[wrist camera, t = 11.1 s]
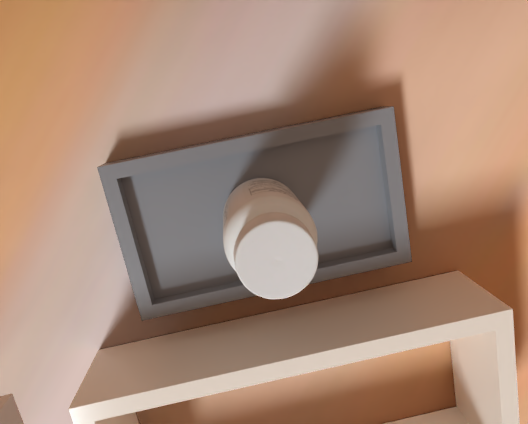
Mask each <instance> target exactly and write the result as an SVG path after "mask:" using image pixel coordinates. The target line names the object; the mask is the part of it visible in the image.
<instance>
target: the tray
mask: <svg viewBox="0 0 528 424" xmlns="http://www.w3.org/2000/svg"><path fill="white" fill-rule="evenodd" d="M97 168H98V172H99V175H100V179H101V182H102V185H103V189H104V192H105V196H106V199H107V203H108V206H109V209H110V213H111V216H112V220H113V223H114V227H115V230H116V233H117V237H118V240H119V244H120V247H121V251H122V254H123V258H124V261H125V264H126V268H127V271H128V275H129V278H130V282H131V285H132V288H133V292H134V295H135V299H136V302H137V306H138V309H139V312H140V316H141V319H142V321H143V320H148V319H152V318H157V317H161V316H166V315H170V314H175V313H180V312H184V311H189V310H193V309H198V308H202V307H207V306H211V305H216V304H221V303H225V302H230V301H234V300H239V299H243V298H248V297H253V296H257V295H255V294H253V293H252V292H251V291H249V290H248V289H247V288H246V287H245V286H244V285H243V283H242V282H241V281H240V279H239V277H238V275H237V272H236V271H235V270H234V269H233V268H232V266H231V265H230V263H229V261H228V259H227V257H226V254H225V250H224V244H223V211H224V206H225V203H226V201H227V199H228V197H229V195H230V194H231V193H232V191H233V190H234V189H235V188H236V187H238V186H239V185H240V184H242V183H244V182H246V181H248V180H251V179H255V178H269V179H273V180H276V181H279V182H281V183H282V184H284V185H285V186H287V187H288V188H289V189H290V190H291V191H292V192H293V193H294V194H295V196H296V197H297V198H298V200H299V201H300V202H301V203H302V204H303V206H304V207H305V208H306V210H307V211H308V212H309V214H310V215H311V217H312V219H313V221H314V223H315V226H316V229H317V239H318V241H317V249H318V267H317V270H316V273H315V275H314V277H313V279H312V280H311V282H310V283H309V284H312V283H317V282H321V281H326V280H330V279H335V278H339V277H344V276H349V275H353V274H358V273H362V272H367V271H371V270H376V269H380V268H385V267H390V266H394V265H399V264H403V263H408V262H412V258H411V249H410V241H409V233H408V224H407V216H406V207H405V199H404V190H403V182H402V173H401V165H400V156H399V148H398V139H397V131H396V122H395V114H394V107H385V106H383V107H378V108H373V109H368V110H364V111H359V112H354V113H349V114H344V115H339V116H334V117H329V118H324V119H320V120H315V121H310V122H305V123H300V124H295V125H290V126H285V127H280V128H275V129H271V130H266V131H261V132H256V133H251V134H246V135H241V136H236V137H231V138H227V139H222V140H217V141H212V142H207V143H202V144H197V145H192V146H187V147H183V148H178V149H173V150H168V151H163V152H158V153H153V154H148V155H143V156H138V157H134V158H129V159H124V160H119V161H114V162H109V163H105V164H103V165H101V166H99V167H97Z"/></svg>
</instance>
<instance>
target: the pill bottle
mask: <svg viewBox="0 0 528 424" xmlns="http://www.w3.org/2000/svg"><path fill="white" fill-rule="evenodd" d="M317 241H318V239H317V229H316V226H315V223H314V221H313V219H312V217H311V215H310V214H309V212H308V211H307V210H306V208H305V207H304V206H303V204H302V203H301V202H300V201H299V200H298V198H297V197H296V196H295V194H294V193H293V192H292V191H291V190H290V189H289V188H288V187H287V186H285V185H284V184H282V183H281V182H279V181H276V180H273V179H269V178H255V179H251V180H248V181H246V182H244V183H242V184H240V185H239V186H238V187H236V188H235V189H234V190H233V191H232V193H231V194H230V195H229V197H228V199H227V201H226V203H225V206H224V211H223V244H224V250H225V254H226V257H227V259H228V261H229V263H230V265H231V266H232V268H233V269H234V270H235V271H236V272H237V275H238V277H239V279H240V281H241V282H242V283H243V285H244V286H245V287H246V288H247V289H248V290H249V291H251V292H252V293H253V294H255V295H257V296H260V297H263V298H266V299H284V298H288V297H291V296H293V295H295V294H297V293H299V292H300V291H301V290H303V289H304V288H305V287H306V286H307V285H308V284H309V283H310V282H311V280H312V279H313V277H314V275H315V273H316V270H317V267H318V249H317Z"/></svg>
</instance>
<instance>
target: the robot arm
mask: <svg viewBox="0 0 528 424" xmlns="http://www.w3.org/2000/svg"><path fill="white" fill-rule="evenodd" d="M0 424H24V423H23V420H22V418H21V415H20V413H19V410H18V408H17V405H16V402H15V400H14V397H13V395H12V394H9V395H4V396H0Z"/></svg>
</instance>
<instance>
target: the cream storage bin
mask: <svg viewBox="0 0 528 424" xmlns="http://www.w3.org/2000/svg"><path fill="white" fill-rule="evenodd" d="M446 341H450V348H451V358H452V368H453V378H454V388H455V398H456V407H452V408H448V409H444V410H440V411H435V412H431V413H427V414H422V415H418V416H414V417H410V418H405V419H401V420H397V421H392V422H388V423H384V424H520V423H519V406H518V389H517V372H516V355H515V338H514V321H513V309H512V308H511V307H509V306H508V305H506V304H505V303H504V302H502V301H501V300H499V299H498V298H497V297H495V296H494V295H492V294H491V293H489V292H488V291H487V290H485V289H484V288H482V287H481V286H480V285H478V284H477V283H475V282H474V281H473V280H471V279H470V278H468V277H467V276H465V275H464V274H463V273H461V272H460V271H453V272H449V273H444V274H440V275H435V276H431V277H426V278H422V279H417V280H412V281H408V282H403V283H399V284H394V285H390V286H385V287H381V288H376V289H372V290H367V291H363V292H358V293H354V294H349V295H345V296H340V297H335V298H331V299H326V300H322V301H317V302H313V303H308V304H304V305H299V306H295V307H290V308H286V309H281V310H277V311H272V312H267V313H263V314H258V315H254V316H249V317H245V318H240V319H236V320H231V321H227V322H222V323H218V324H213V325H209V326H204V327H200V328H195V329H190V330H186V331H181V332H177V333H172V334H168V335H163V336H159V337H154V338H150V339H145V340H141V341H136V342H132V343H127V344H122V345H118V346H113V347H109V348H104V349H100V350H98V352H97V354H96V356H95V358H94V360H93V362H92V364H91V366H90V368H89V370H88V372H87V374H86V376H85V378H84V380H83V382H82V384H81V385H80V387H79V389H78V391H77V393H76V395H75V397H74V399H73V401H72V403H71V405H70V407H69V412H70V415H71V418H72V420H73V423H74V424H139V422H138V419H137V416H136V412H138V411H142V410H147V409H151V408H156V407H160V406H164V405H169V404H173V403H178V402H182V401H186V400H191V399H195V398H200V397H204V396H208V395H213V394H217V393H222V392H226V391H230V390H235V389H239V388H244V387H248V386H253V385H257V384H261V383H266V382H270V381H275V380H279V379H283V378H288V377H292V376H297V375H301V374H305V373H310V372H314V371H319V370H323V369H327V368H332V367H336V366H341V365H345V364H349V363H354V362H358V361H363V360H367V359H372V358H376V357H380V356H385V355H389V354H394V353H398V352H402V351H407V350H411V349H416V348H420V347H424V346H429V345H433V344H438V343H442V342H446Z"/></svg>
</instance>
